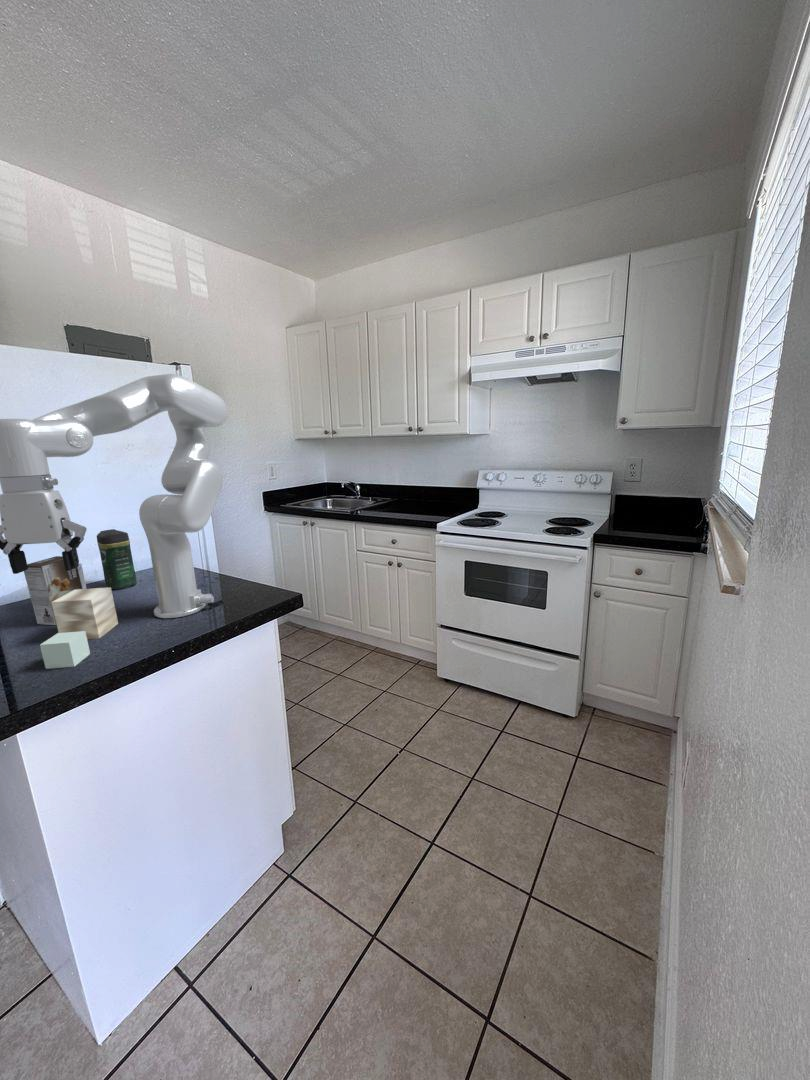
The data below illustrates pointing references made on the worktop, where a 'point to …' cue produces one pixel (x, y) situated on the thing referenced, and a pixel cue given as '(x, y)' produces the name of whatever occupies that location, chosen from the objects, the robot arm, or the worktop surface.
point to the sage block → (65, 649)
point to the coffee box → (49, 586)
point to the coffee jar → (116, 559)
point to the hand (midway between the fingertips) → (46, 570)
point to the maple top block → (83, 604)
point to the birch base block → (91, 625)
